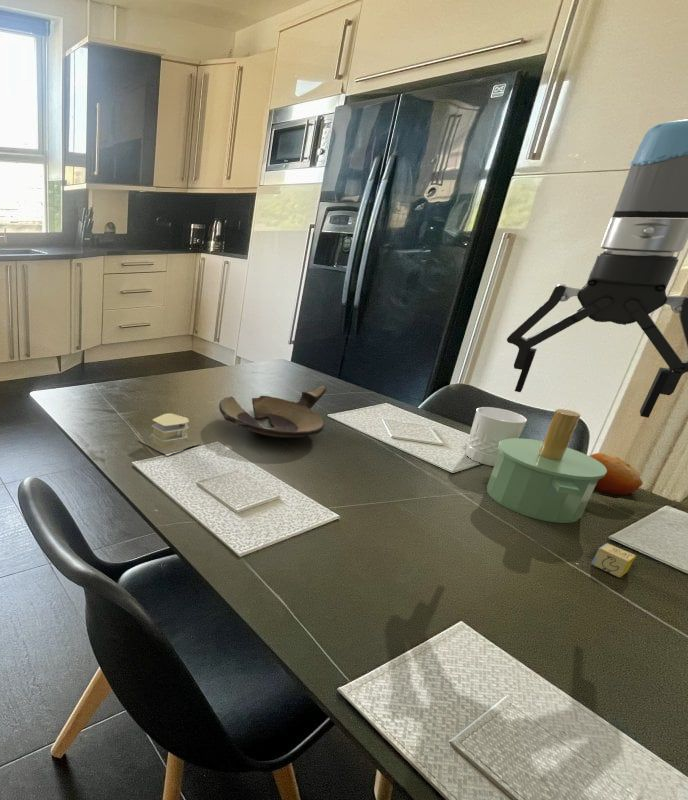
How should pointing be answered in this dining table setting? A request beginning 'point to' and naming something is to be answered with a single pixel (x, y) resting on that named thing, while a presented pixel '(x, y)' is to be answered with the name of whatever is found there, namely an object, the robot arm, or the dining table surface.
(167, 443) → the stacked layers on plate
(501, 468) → the pot
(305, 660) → the dining table surface
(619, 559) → the alphabet block
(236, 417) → the broken brown bowl
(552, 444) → the lid
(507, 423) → the white cup
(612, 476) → the fruit
